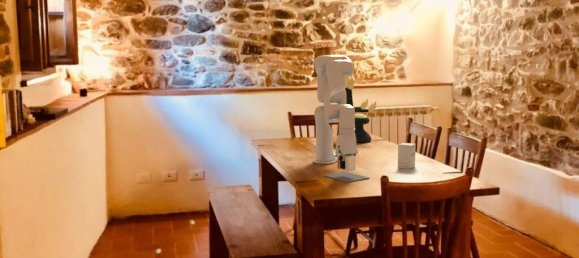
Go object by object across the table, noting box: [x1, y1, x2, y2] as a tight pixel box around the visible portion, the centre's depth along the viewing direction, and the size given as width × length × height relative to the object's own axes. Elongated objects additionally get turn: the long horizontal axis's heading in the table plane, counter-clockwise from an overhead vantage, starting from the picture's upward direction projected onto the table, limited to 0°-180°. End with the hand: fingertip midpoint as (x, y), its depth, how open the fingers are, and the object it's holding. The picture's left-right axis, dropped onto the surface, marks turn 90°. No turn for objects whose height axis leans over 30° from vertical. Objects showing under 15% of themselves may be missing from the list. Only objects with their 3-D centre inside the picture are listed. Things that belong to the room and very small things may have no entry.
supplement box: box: [397, 142, 417, 170], centre depth 327 cm, size 7×7×13 cm
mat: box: [323, 171, 370, 184], centre depth 303 cm, size 14×18×1 cm
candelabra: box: [344, 75, 377, 144], centre depth 410 cm, size 19×22×45 cm
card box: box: [337, 154, 357, 172], centre depth 302 cm, size 8×4×7 cm, turn 37°
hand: (346, 167), depth 303 cm, fingers closed on card box, 4 cm apart
